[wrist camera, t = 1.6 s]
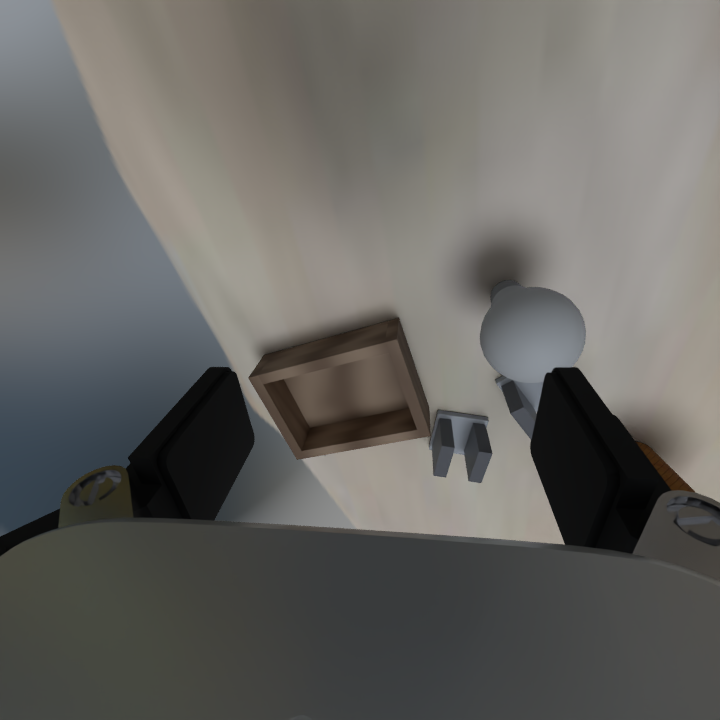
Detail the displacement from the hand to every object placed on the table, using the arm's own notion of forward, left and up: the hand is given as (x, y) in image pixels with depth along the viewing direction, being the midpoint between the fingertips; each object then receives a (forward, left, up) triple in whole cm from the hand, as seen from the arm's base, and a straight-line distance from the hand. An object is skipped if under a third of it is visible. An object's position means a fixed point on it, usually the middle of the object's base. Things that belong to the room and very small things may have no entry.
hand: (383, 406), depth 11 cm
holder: (+9, +11, -21) cm, 26 cm away
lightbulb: (-7, +6, -21) cm, 23 cm away
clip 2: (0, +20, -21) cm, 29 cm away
